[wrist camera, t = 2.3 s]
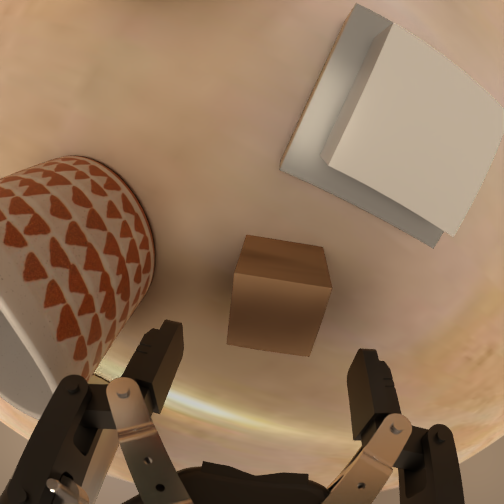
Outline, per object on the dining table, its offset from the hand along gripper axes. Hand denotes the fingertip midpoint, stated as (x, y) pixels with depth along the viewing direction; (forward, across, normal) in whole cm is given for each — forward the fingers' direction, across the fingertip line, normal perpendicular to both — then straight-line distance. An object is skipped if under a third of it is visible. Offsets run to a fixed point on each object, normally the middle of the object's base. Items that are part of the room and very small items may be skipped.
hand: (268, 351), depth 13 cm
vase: (+8, +15, +1) cm, 17 cm away
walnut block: (+8, 0, +1) cm, 8 cm away
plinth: (+8, -6, -10) cm, 14 cm away
